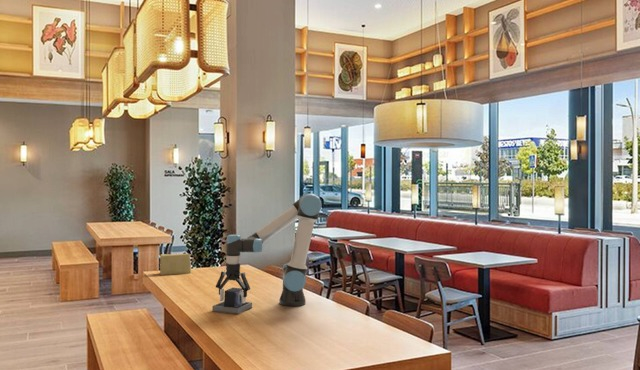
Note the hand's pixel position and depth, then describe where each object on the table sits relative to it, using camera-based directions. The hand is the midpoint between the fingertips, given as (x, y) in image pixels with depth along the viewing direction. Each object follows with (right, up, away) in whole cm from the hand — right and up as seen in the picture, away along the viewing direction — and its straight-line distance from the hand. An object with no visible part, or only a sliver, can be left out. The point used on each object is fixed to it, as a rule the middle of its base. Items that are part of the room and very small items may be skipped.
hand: (232, 301), depth 284 cm
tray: (0, -4, 0) cm, 4 cm away
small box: (0, -4, 0) cm, 4 cm away
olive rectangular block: (-61, -3, +108) cm, 124 cm away
